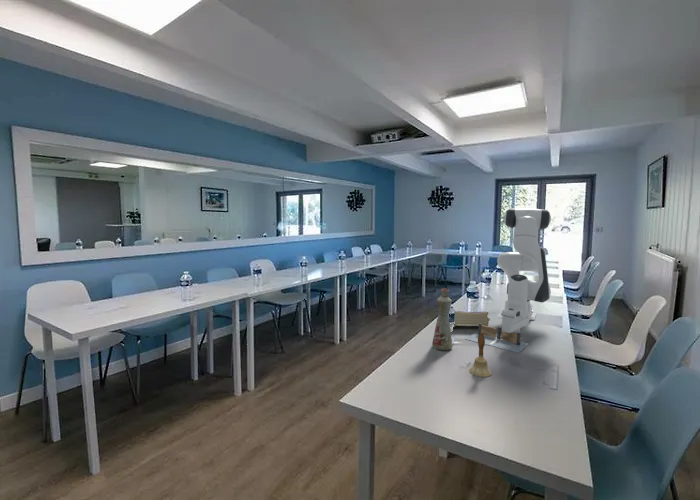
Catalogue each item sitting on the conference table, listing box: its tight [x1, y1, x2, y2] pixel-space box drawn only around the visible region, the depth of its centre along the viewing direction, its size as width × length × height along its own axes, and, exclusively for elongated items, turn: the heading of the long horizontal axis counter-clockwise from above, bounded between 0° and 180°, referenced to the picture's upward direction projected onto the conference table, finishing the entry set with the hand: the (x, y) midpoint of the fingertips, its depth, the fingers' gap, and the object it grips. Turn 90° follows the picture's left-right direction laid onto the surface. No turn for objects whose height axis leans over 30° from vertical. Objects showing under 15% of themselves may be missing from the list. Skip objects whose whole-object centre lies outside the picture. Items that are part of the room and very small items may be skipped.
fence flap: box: [501, 329, 522, 345], centre depth 173 cm, size 9×2×5 cm, turn 37°
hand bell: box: [468, 332, 492, 378], centre depth 140 cm, size 8×8×16 cm
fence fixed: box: [477, 323, 502, 339], centre depth 181 cm, size 2×11×6 cm, turn 49°
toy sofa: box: [454, 310, 491, 328], centre depth 196 cm, size 21×9×10 cm, turn 90°
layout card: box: [465, 331, 530, 354], centre depth 174 cm, size 15×25×1 cm, turn 48°
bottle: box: [431, 288, 453, 352], centre depth 164 cm, size 9×9×28 cm
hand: (515, 337), depth 172 cm, fingers closed, pressing on fence flap
